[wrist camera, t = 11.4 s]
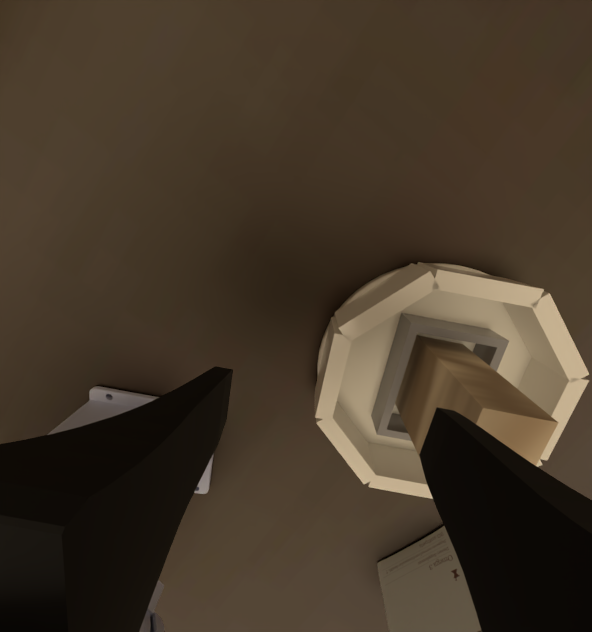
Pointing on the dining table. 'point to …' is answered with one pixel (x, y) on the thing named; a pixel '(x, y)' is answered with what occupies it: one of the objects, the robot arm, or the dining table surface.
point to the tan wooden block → (469, 398)
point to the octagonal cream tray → (444, 324)
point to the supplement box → (427, 588)
